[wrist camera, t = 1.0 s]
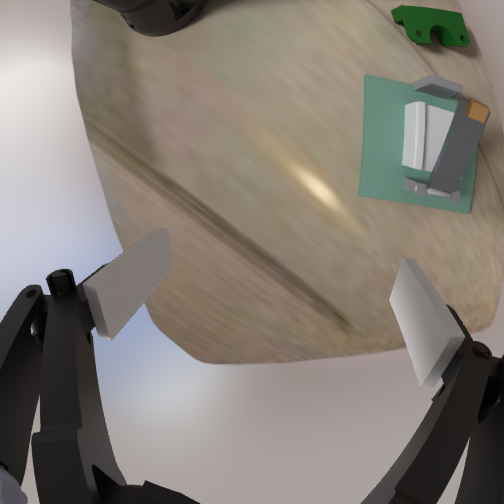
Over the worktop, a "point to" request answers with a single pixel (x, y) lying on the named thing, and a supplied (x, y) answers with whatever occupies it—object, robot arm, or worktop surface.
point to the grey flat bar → (459, 144)
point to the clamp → (432, 25)
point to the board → (391, 147)
